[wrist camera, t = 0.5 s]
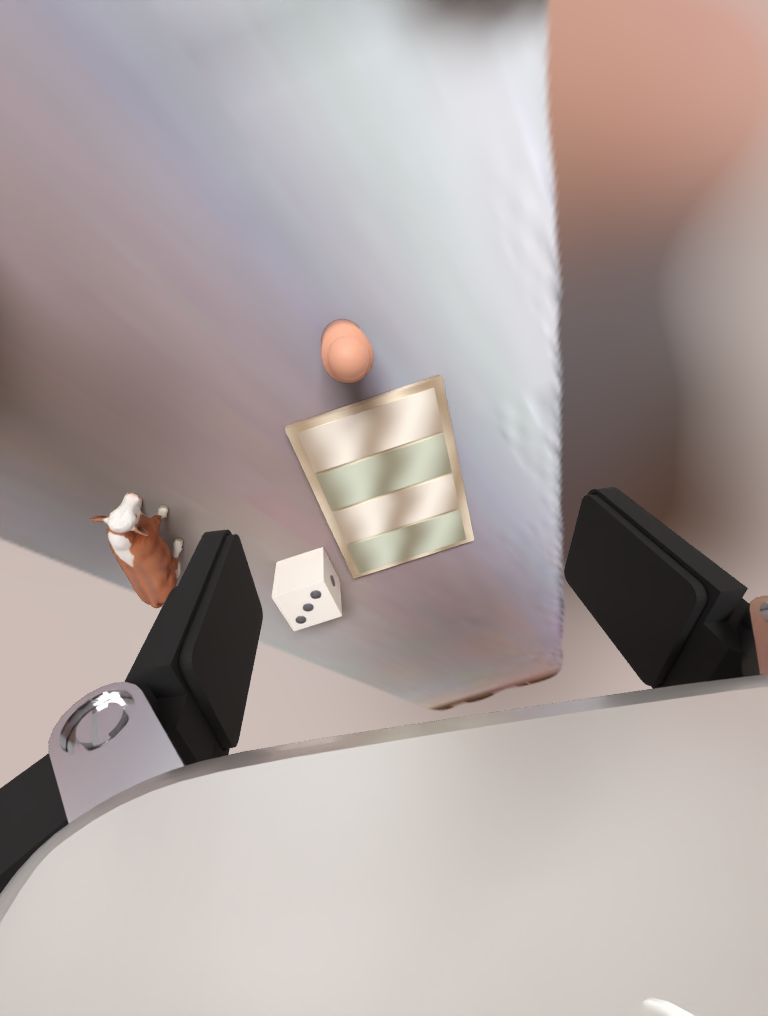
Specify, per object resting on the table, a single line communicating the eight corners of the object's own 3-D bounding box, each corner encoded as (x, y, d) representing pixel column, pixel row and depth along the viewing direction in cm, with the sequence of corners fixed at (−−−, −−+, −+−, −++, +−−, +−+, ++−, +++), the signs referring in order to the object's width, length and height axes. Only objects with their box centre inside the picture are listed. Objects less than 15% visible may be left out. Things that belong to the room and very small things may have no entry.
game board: (353, 573, 50) (353, 579, 49) (285, 426, 38) (284, 430, 37) (471, 535, 49) (474, 541, 48) (439, 374, 38) (442, 377, 37)
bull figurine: (166, 465, 39) (133, 508, 32) (193, 567, 46) (171, 620, 39) (118, 465, 38) (74, 509, 31) (153, 569, 45) (123, 623, 38)
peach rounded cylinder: (330, 372, 36) (333, 397, 29) (314, 327, 34) (313, 343, 27) (370, 358, 36) (383, 380, 29) (357, 312, 34) (367, 324, 27)
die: (296, 595, 50) (294, 632, 45) (276, 562, 47) (271, 598, 42) (340, 581, 50) (343, 617, 45) (323, 546, 47) (324, 581, 42)
